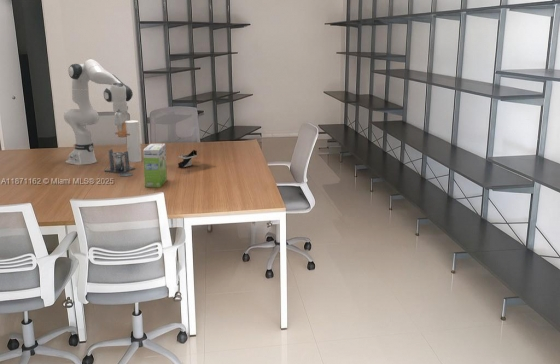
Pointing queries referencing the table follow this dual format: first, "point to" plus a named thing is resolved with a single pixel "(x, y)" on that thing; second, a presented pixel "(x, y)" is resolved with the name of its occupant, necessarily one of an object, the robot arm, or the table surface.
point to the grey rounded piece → (125, 174)
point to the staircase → (187, 159)
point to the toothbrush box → (155, 165)
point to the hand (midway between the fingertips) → (122, 129)
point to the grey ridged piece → (119, 162)
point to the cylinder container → (133, 141)
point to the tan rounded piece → (123, 132)
